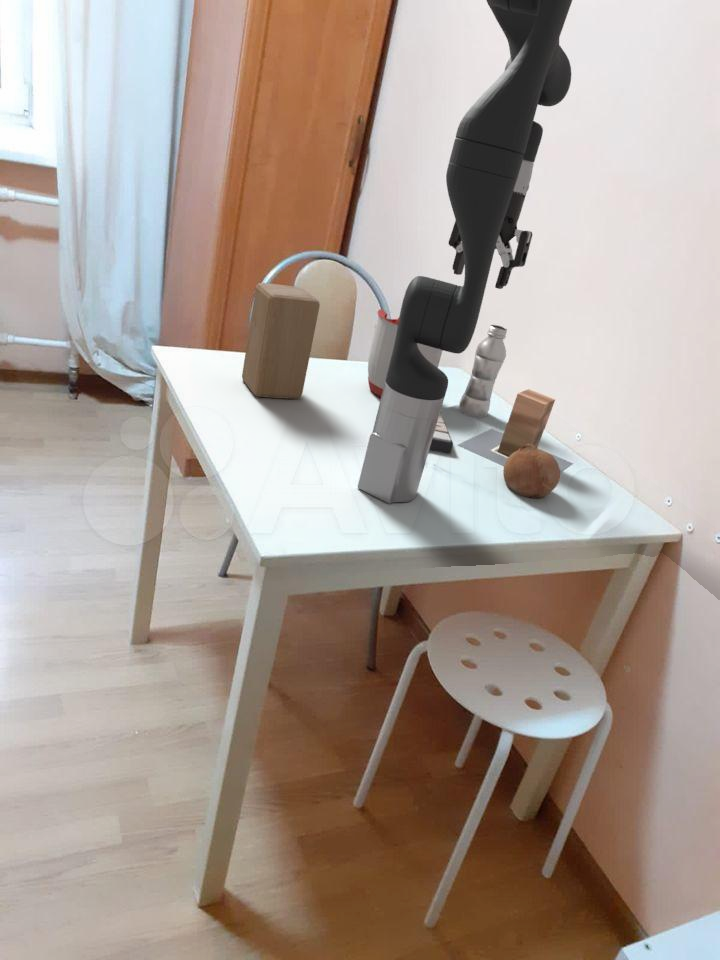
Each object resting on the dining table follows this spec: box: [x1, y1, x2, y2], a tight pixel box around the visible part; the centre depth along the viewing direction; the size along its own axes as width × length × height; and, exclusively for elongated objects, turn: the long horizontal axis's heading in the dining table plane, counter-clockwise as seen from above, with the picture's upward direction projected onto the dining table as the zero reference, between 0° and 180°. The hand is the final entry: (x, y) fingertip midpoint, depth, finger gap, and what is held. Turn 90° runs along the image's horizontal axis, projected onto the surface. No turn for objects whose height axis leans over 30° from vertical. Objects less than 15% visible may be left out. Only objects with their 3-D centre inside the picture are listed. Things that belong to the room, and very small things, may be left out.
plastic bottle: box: [458, 324, 508, 419], centre depth 151 cm, size 6×7×20 cm
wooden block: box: [241, 282, 321, 400], centre depth 139 cm, size 10×10×20 cm
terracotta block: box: [507, 388, 556, 434], centre depth 134 cm, size 6×6×6 cm
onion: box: [502, 443, 561, 500], centre depth 123 cm, size 10×9×10 cm
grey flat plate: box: [457, 428, 574, 474], centre depth 138 cm, size 16×18×1 cm
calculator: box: [429, 414, 454, 455], centre depth 137 cm, size 11×4×15 cm
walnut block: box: [498, 422, 545, 457], centre depth 137 cm, size 6×6×6 cm
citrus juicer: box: [367, 308, 444, 398], centre depth 154 cm, size 16×17×20 cm
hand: (477, 281), depth 129 cm, fingers open, 8 cm apart
